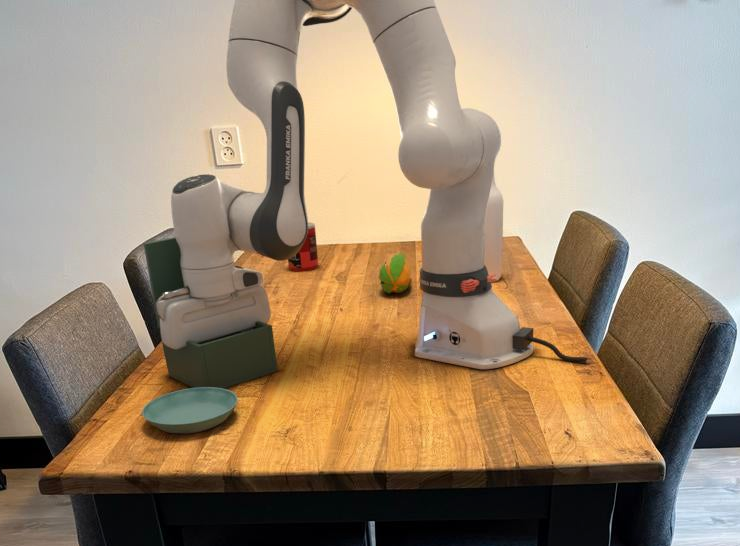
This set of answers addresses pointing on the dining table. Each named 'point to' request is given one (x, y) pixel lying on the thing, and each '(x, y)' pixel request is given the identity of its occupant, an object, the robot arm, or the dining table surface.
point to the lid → (163, 268)
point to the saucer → (190, 409)
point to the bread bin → (224, 358)
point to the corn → (395, 275)
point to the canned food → (306, 253)
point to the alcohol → (494, 232)
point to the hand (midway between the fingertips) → (223, 360)
